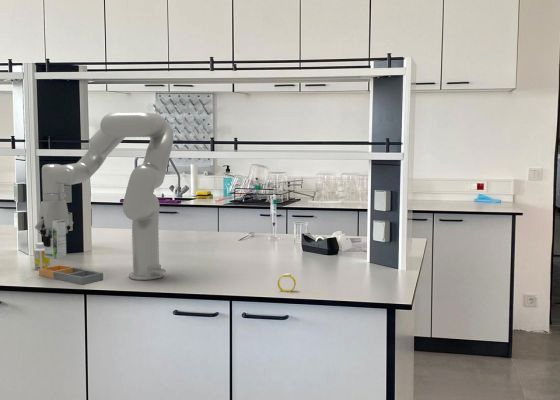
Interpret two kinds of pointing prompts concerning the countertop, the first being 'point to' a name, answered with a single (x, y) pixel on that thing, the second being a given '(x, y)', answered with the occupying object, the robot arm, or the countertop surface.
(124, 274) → the countertop surface
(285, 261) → the countertop surface
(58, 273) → the compartment tray
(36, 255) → the supplement bottle
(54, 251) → the syrup box
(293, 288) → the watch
